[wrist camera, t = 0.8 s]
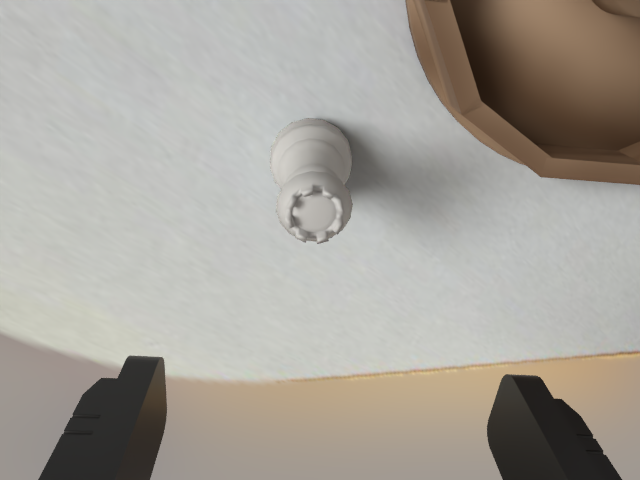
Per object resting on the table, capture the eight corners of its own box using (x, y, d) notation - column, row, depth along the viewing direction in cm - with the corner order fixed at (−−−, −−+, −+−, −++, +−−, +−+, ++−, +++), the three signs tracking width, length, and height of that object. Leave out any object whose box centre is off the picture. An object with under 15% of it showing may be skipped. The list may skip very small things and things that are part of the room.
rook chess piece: (305, 98, 27) (308, 141, 20) (367, 151, 28) (391, 210, 21) (253, 161, 28) (238, 222, 21) (314, 209, 30) (320, 282, 22)
